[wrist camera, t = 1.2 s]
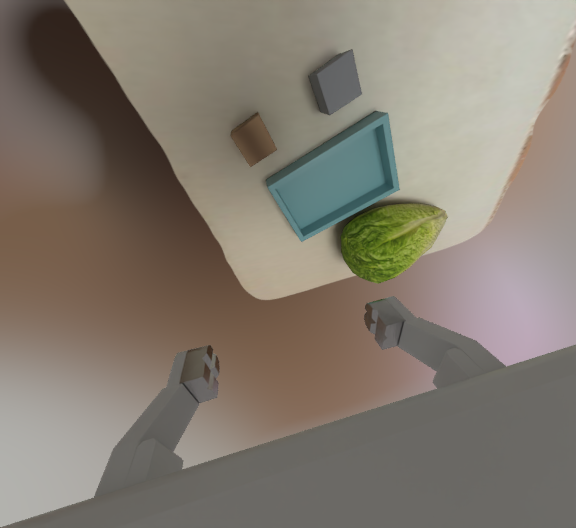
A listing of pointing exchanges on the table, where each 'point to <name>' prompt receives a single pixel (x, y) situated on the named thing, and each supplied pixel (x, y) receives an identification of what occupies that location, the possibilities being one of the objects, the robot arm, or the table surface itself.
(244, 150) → the walnut block
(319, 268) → the table surface
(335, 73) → the charcoal block
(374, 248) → the lettuce
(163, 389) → the robot arm
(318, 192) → the teal tray
